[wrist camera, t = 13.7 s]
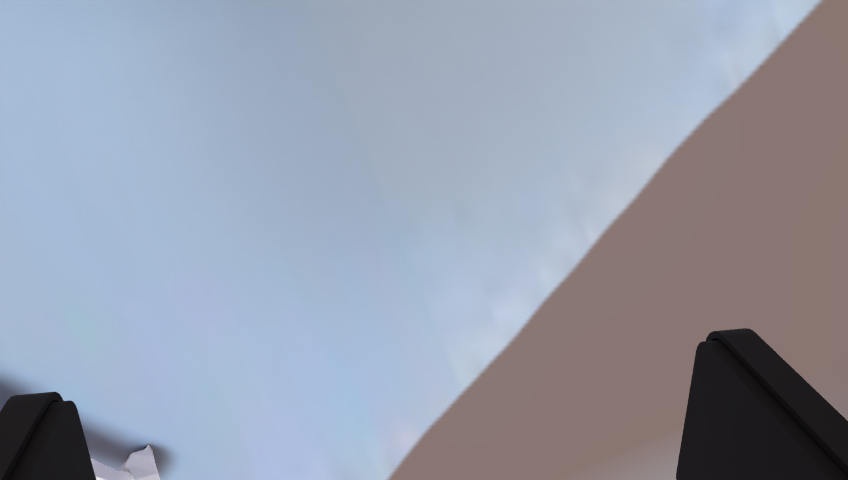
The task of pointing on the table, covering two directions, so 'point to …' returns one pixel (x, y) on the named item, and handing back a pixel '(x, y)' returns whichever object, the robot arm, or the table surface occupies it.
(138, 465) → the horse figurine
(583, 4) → the table surface
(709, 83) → the table surface
